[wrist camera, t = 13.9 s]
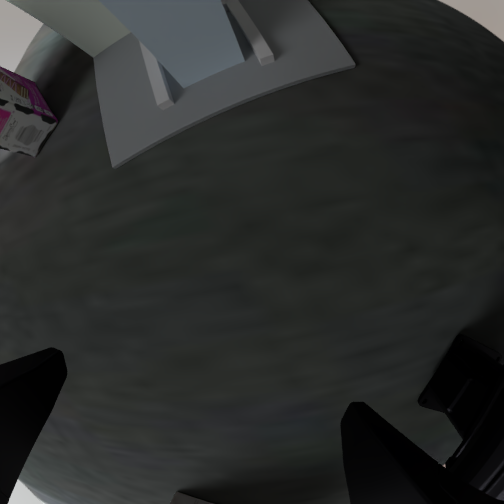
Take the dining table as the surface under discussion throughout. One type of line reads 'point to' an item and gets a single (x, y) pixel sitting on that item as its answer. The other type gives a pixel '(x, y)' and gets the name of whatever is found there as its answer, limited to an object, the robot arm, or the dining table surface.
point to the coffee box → (186, 499)
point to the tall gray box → (182, 35)
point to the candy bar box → (23, 115)
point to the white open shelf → (204, 91)
